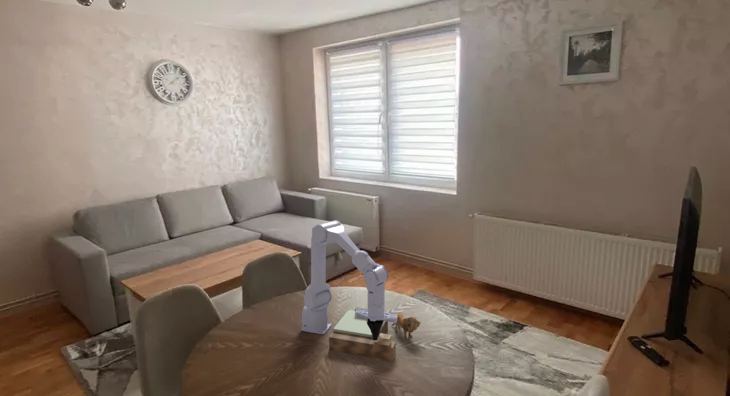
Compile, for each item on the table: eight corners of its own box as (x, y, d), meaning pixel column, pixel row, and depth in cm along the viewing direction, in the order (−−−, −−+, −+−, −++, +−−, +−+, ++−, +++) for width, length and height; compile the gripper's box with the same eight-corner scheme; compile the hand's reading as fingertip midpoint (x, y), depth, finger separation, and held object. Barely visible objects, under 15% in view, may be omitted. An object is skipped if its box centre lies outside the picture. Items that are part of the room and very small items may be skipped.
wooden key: (377, 344, 142) (377, 337, 141) (380, 339, 144) (380, 333, 144) (389, 346, 140) (389, 339, 140) (391, 341, 143) (391, 334, 143)
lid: (333, 331, 150) (333, 322, 150) (348, 312, 165) (348, 303, 165) (376, 338, 145) (376, 329, 145) (387, 317, 160) (388, 309, 160)
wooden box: (329, 350, 148) (329, 336, 147) (348, 324, 166) (348, 312, 165) (392, 361, 141) (392, 347, 140) (405, 333, 159) (405, 320, 158)
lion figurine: (422, 340, 154) (422, 317, 153) (411, 344, 151) (411, 321, 150) (396, 324, 166) (396, 303, 164) (386, 328, 163) (386, 306, 161)
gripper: (351, 303, 139) (351, 341, 142) (394, 309, 135) (393, 348, 137) (358, 295, 146) (358, 331, 148) (399, 300, 141) (398, 337, 144)
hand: (375, 339), depth 143 cm, fingers closed
